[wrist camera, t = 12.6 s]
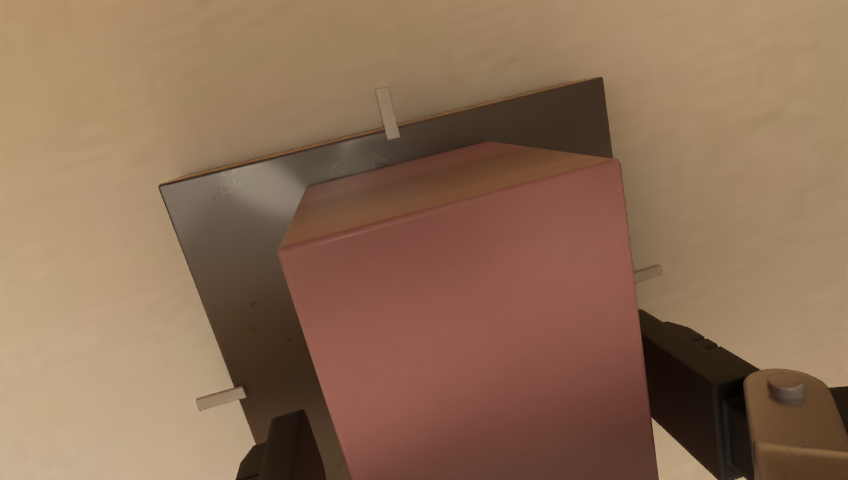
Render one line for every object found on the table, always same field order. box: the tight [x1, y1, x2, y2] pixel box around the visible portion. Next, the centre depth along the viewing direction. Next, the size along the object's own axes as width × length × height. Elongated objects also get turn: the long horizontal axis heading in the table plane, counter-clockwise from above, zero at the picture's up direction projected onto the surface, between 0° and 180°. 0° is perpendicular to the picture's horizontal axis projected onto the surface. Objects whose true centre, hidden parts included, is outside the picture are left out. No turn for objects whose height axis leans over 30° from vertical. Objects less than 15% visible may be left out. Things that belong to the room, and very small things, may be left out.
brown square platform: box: [158, 77, 662, 480], centre depth 17 cm, size 15×15×2 cm
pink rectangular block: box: [278, 141, 659, 480], centre depth 12 cm, size 11×6×7 cm, turn 13°
